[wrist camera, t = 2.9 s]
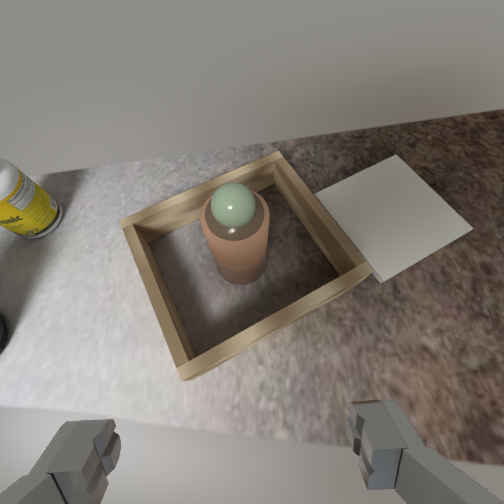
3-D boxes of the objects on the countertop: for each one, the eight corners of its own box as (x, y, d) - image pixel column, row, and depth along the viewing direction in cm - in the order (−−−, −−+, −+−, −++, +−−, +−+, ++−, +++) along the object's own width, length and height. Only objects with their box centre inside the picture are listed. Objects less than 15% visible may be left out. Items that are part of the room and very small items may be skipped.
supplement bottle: (6, 234, 30) (-100, 176, 21) (33, 196, 32) (-52, 129, 23) (48, 245, 30) (-43, 189, 21) (73, 205, 32) (0, 139, 23)
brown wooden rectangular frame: (276, 175, 33) (278, 150, 29) (358, 284, 27) (373, 270, 23) (136, 239, 30) (119, 220, 26) (193, 379, 24) (181, 381, 20)
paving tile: (393, 159, 33) (396, 154, 33) (468, 232, 29) (473, 228, 28) (313, 198, 31) (314, 193, 31) (380, 284, 27) (383, 281, 26)
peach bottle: (251, 231, 30) (247, 150, 19) (275, 270, 28) (286, 203, 17) (209, 252, 29) (179, 179, 18) (230, 293, 27) (212, 239, 16)
